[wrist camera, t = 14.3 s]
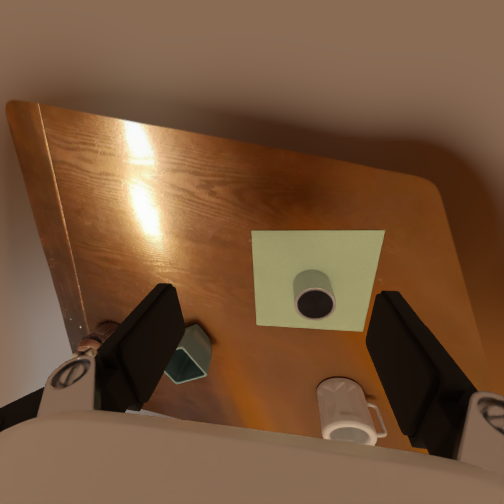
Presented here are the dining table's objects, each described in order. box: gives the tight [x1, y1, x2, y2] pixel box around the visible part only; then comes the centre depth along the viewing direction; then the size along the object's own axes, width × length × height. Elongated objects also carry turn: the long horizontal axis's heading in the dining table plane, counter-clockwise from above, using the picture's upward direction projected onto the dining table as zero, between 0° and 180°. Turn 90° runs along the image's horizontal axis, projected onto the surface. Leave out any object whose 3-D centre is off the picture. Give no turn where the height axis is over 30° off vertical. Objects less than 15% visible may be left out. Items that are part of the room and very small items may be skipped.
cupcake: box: [71, 322, 119, 359], centre depth 51 cm, size 10×10×10 cm
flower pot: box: [164, 324, 212, 384], centre depth 47 cm, size 9×9×9 cm
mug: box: [317, 378, 387, 446], centre depth 48 cm, size 14×11×10 cm
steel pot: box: [293, 270, 336, 320], centre depth 38 cm, size 7×7×6 cm
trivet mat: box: [251, 230, 385, 332], centre depth 41 cm, size 22×22×1 cm
